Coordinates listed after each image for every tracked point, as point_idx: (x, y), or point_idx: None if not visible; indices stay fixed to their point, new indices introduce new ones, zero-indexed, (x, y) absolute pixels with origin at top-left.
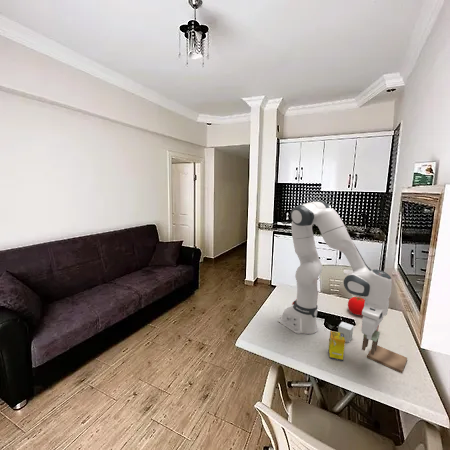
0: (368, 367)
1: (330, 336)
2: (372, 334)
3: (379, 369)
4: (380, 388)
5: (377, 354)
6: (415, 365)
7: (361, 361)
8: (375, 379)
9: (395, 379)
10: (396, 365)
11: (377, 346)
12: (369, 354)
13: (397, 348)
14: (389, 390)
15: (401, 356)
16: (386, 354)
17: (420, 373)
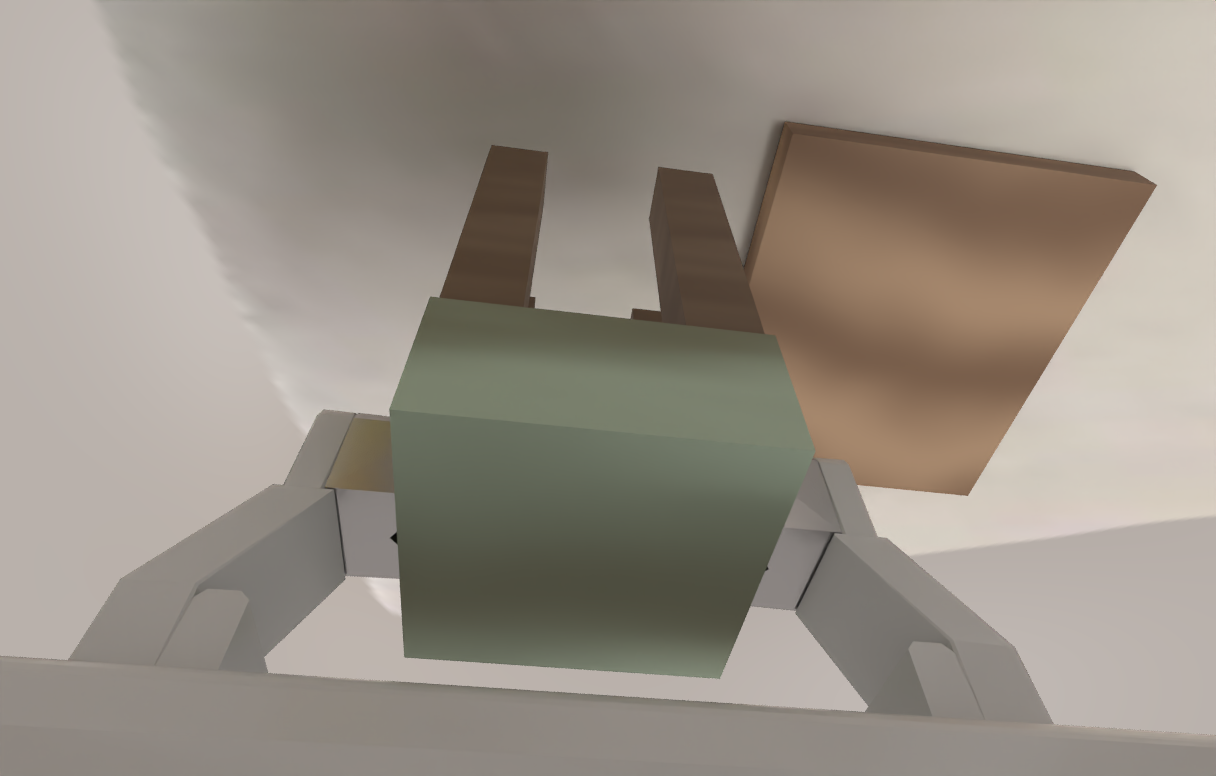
0: (565, 170)
1: None
2: (427, 590)
3: (615, 281)
4: (294, 316)
5: (884, 250)
6: (897, 525)
7: (638, 68)
8: (396, 263)
9: None
10: None
11: (1097, 231)
12: (829, 160)
13: (1163, 403)
14: (341, 381)
15: (967, 456)
16: (938, 336)
17: None
